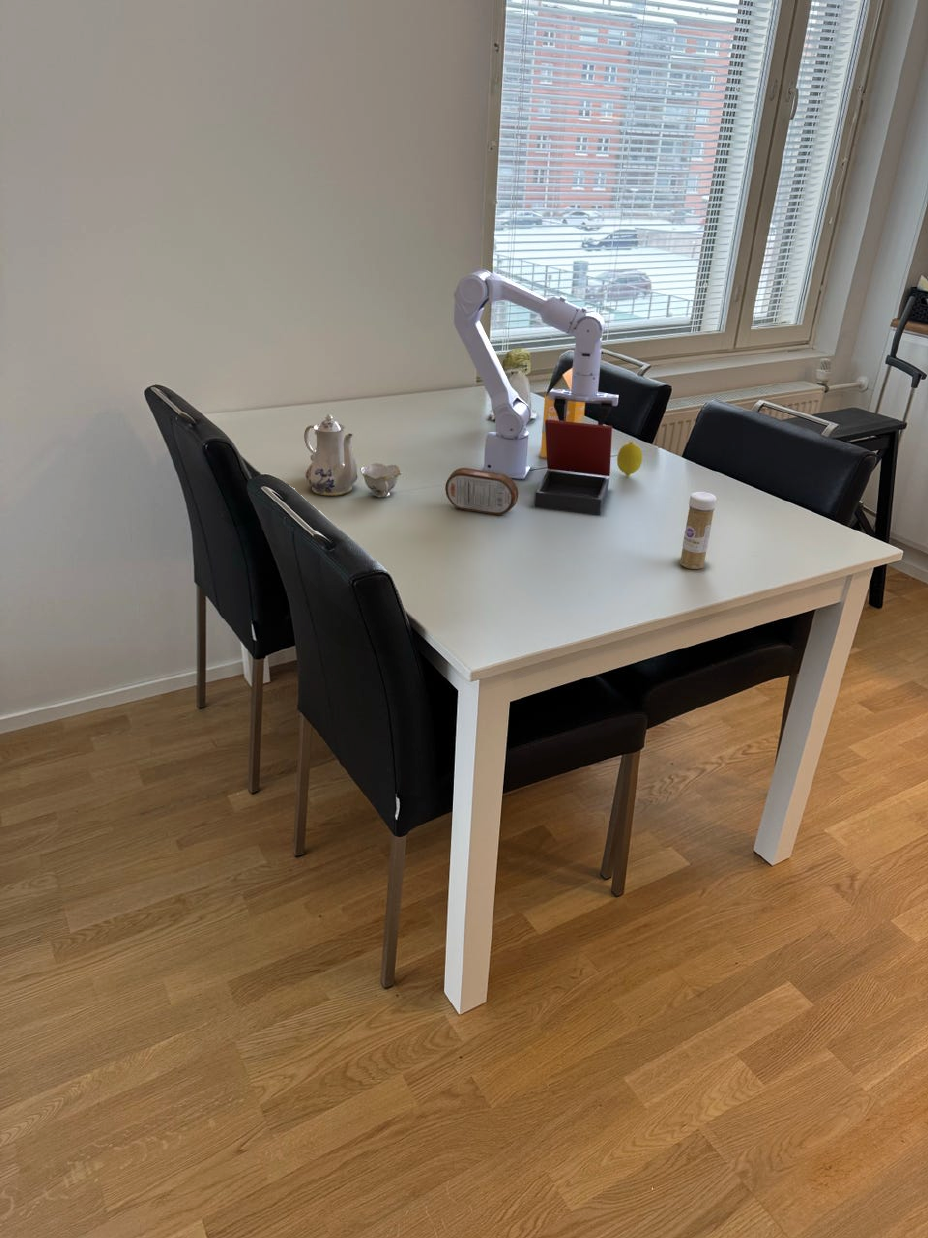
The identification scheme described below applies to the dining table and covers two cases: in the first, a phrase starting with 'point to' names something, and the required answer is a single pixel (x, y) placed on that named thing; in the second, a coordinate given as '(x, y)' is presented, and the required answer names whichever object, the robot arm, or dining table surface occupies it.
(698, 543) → the sprinkles bottle
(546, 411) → the orange juice
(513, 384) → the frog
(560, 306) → the robot arm
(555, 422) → the lid
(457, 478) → the tin
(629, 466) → the lemon
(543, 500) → the dark grey open tray
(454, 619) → the dining table surface
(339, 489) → the chinaware
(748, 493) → the dining table surface
